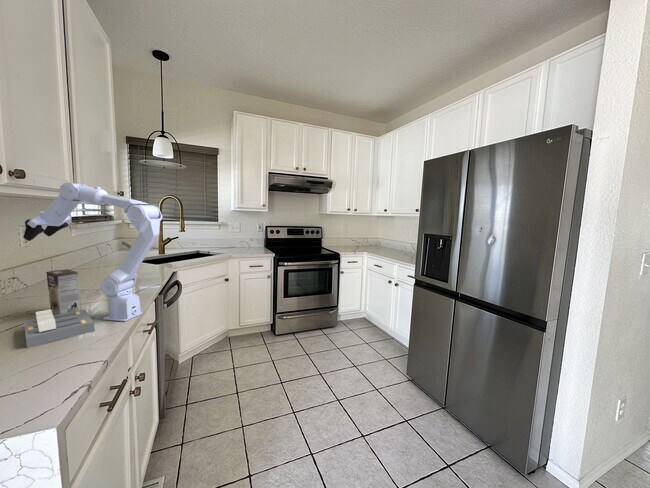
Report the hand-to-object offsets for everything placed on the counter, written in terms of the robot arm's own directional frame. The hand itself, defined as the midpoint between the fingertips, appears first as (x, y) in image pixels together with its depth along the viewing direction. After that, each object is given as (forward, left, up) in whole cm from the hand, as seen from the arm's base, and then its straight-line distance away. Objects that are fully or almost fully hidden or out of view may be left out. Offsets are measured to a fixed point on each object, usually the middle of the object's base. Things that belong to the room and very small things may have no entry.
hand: (37, 236), depth 97 cm
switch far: (-13, +10, -26) cm, 31 cm away
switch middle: (-17, +13, -26) cm, 34 cm away
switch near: (-22, +16, -26) cm, 38 cm away
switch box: (-19, +10, -30) cm, 37 cm away
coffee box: (-4, -4, -30) cm, 30 cm away
